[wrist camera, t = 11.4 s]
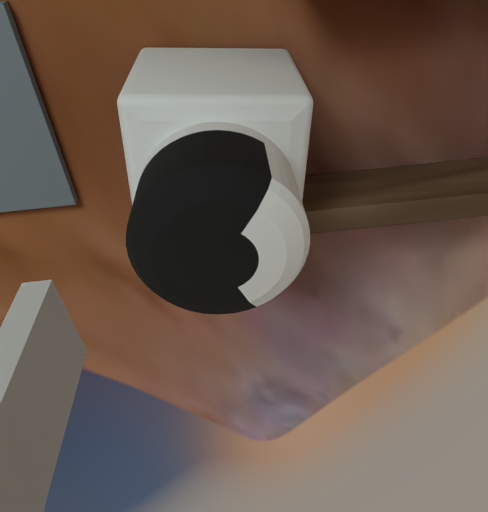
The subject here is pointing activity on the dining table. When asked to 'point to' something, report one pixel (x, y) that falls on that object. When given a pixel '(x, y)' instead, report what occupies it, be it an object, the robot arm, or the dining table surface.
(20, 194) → the pad
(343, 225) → the rack
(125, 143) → the container
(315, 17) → the dining table surface
